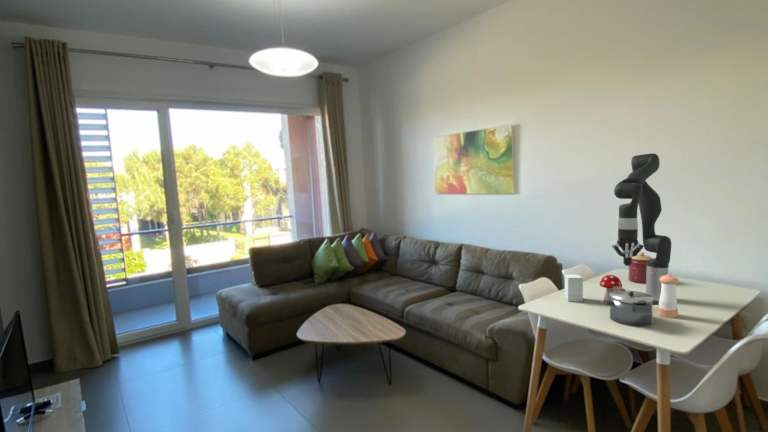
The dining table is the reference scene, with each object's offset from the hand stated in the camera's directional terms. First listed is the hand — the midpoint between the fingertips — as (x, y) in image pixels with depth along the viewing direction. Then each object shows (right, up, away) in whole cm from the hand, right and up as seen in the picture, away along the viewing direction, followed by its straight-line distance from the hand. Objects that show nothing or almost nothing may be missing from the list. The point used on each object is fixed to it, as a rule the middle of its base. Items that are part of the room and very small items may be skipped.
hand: (627, 265), depth 180 cm
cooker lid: (0, -14, 0) cm, 14 cm away
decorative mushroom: (+4, -22, +20) cm, 30 cm away
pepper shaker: (+20, -23, +2) cm, 31 cm away
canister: (+44, -17, +59) cm, 76 cm away
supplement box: (-10, -22, +30) cm, 38 cm away
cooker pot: (0, -24, -3) cm, 25 cm away
